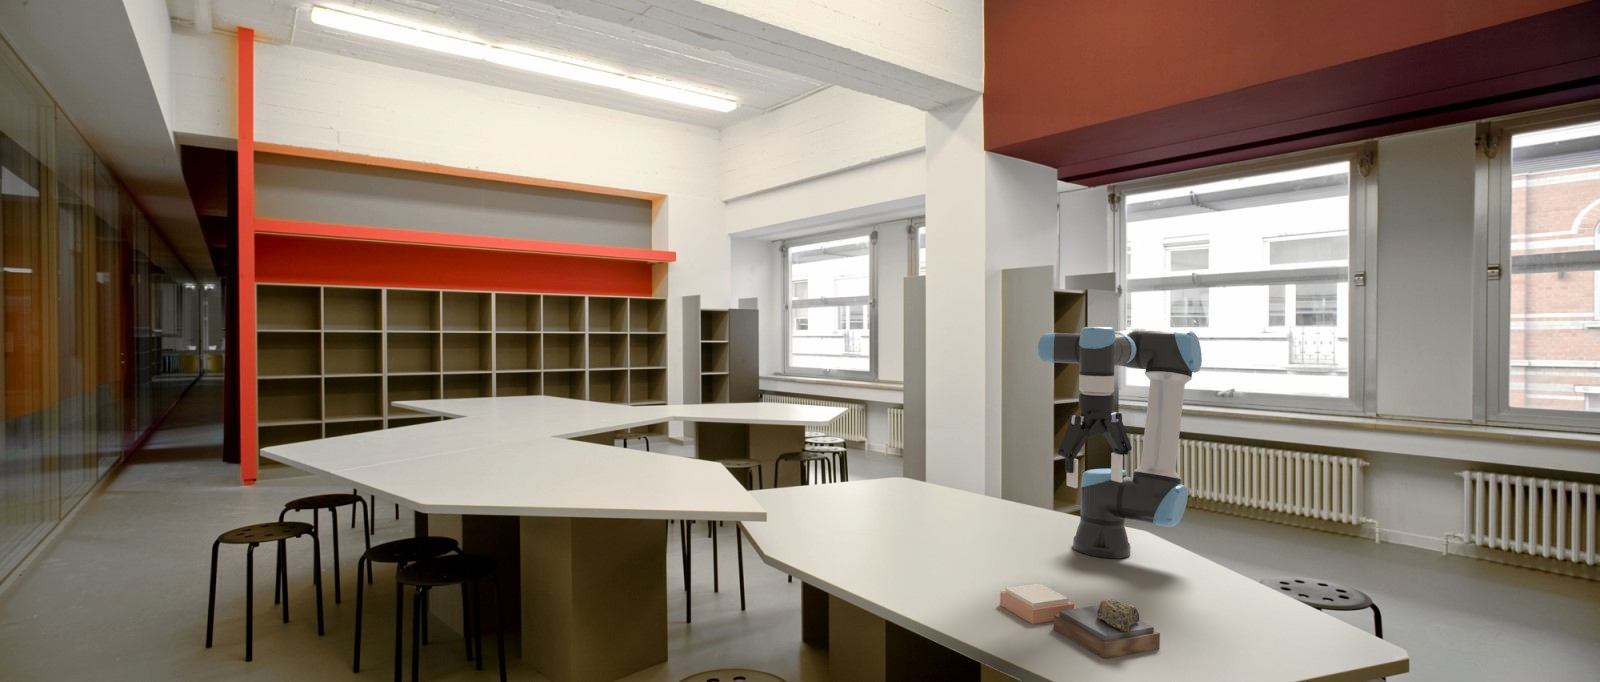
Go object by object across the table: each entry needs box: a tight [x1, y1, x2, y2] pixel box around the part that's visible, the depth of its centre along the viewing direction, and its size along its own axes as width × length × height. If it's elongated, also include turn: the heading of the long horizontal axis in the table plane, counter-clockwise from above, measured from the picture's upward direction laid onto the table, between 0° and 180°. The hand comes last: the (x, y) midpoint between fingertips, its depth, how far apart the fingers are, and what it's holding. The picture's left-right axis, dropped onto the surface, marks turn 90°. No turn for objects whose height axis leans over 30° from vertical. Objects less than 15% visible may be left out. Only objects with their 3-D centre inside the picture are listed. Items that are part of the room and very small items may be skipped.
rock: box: [1097, 598, 1140, 633], centre depth 142 cm, size 7×8×4 cm
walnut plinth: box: [1053, 604, 1161, 660], centre depth 144 cm, size 14×14×4 cm
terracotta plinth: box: [999, 583, 1075, 625], centre depth 158 cm, size 11×11×4 cm
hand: (1094, 484), depth 166 cm, fingers open, 13 cm apart
